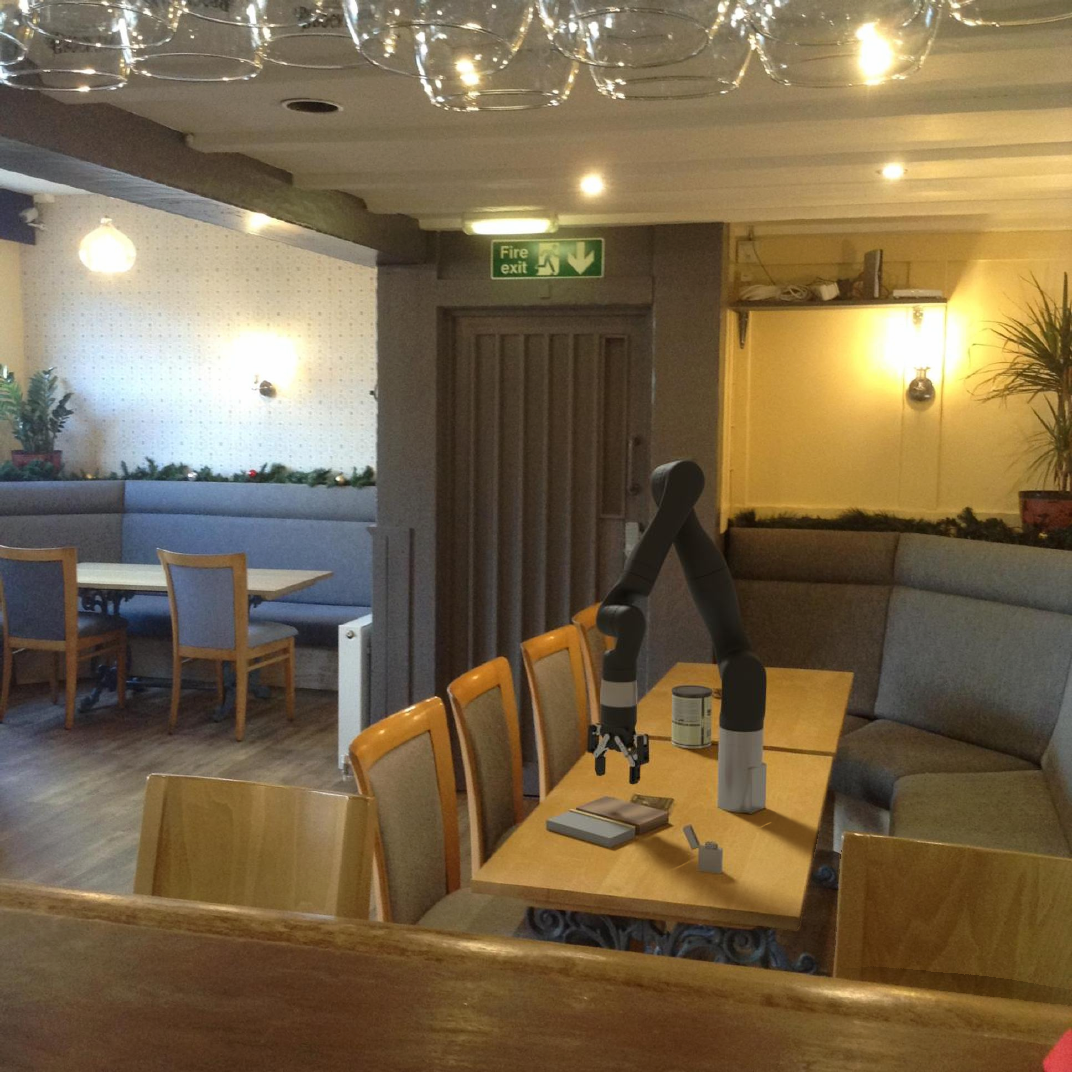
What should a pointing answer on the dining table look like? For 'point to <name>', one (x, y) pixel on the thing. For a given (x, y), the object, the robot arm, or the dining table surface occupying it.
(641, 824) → the walnut plank
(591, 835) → the board
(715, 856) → the lighter
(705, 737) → the coffee can
